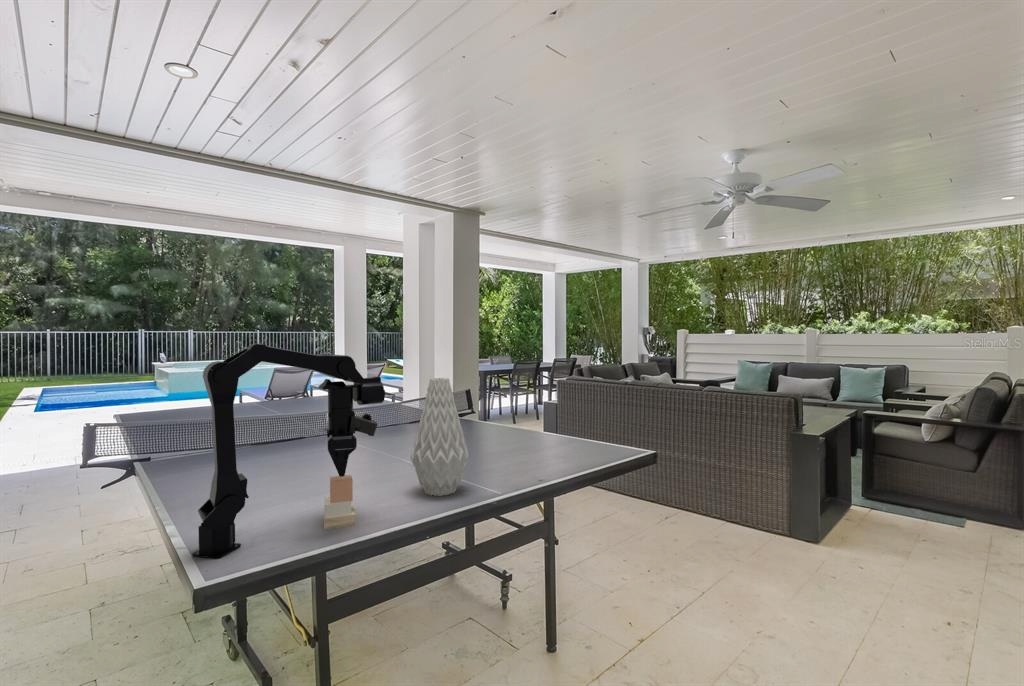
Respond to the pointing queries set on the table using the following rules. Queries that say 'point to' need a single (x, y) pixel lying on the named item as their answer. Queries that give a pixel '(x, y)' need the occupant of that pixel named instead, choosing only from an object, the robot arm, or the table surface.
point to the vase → (439, 441)
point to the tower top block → (336, 508)
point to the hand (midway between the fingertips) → (341, 471)
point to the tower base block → (340, 520)
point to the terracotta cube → (341, 489)
